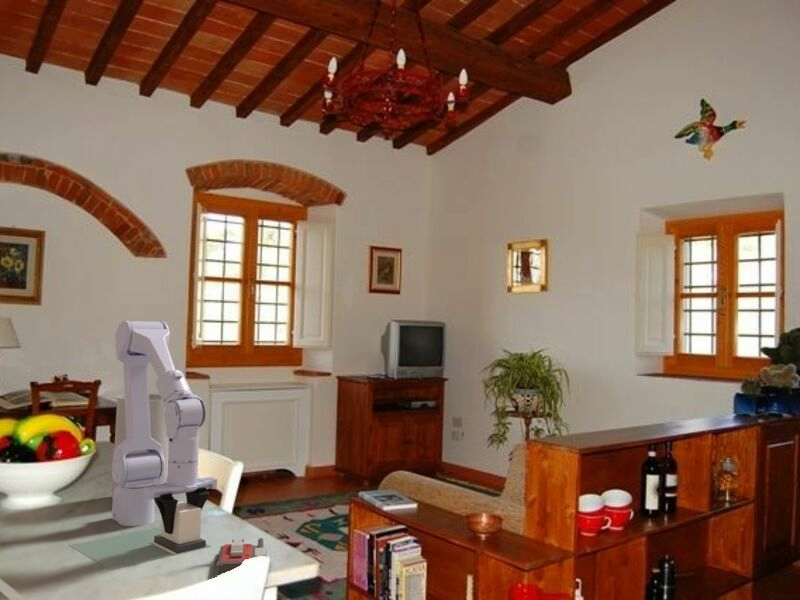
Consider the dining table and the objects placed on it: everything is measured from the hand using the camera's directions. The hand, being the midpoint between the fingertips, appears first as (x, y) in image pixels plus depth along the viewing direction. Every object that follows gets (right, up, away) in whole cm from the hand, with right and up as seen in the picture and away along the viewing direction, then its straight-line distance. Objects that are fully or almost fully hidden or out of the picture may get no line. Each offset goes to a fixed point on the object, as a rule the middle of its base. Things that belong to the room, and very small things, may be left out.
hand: (180, 530), depth 140 cm
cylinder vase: (-21, -4, +37) cm, 43 cm away
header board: (-7, -3, -2) cm, 8 cm away
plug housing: (0, -1, 0) cm, 1 cm away
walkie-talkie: (+13, -5, -6) cm, 15 cm away
